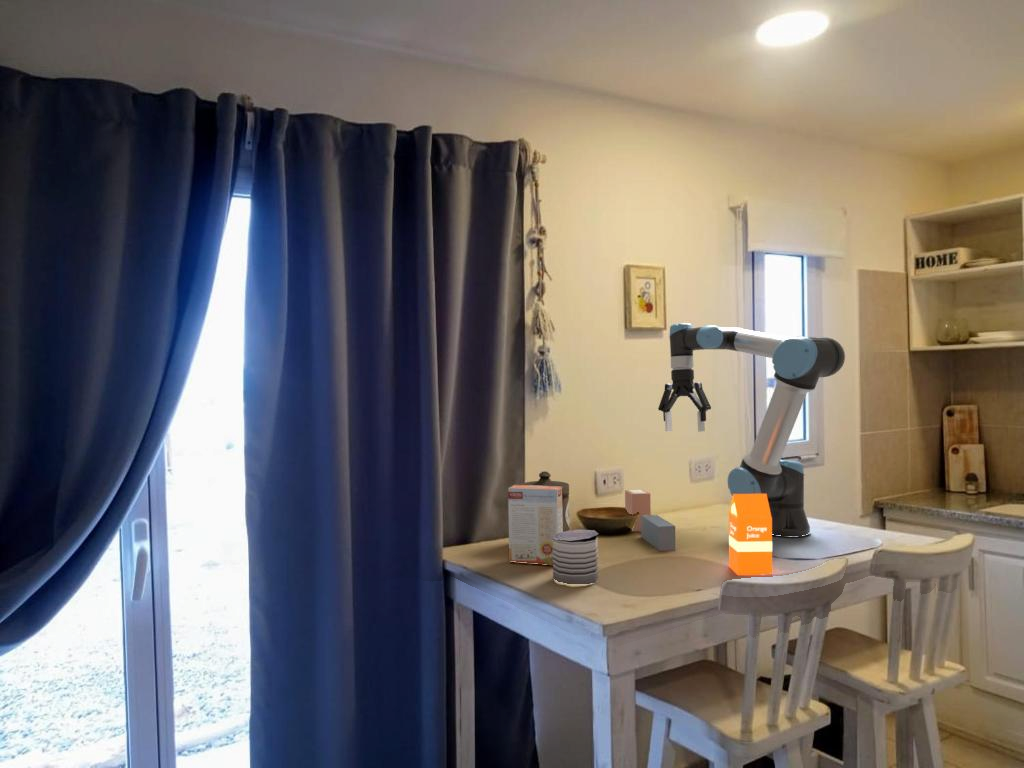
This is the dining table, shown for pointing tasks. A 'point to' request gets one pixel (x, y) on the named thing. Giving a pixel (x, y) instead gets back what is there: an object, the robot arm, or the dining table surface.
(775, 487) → the robot arm
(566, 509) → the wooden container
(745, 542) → the orange juice
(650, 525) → the pad
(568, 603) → the dining table surface
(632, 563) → the dining table surface
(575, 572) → the can
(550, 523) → the cracker box
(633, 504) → the stub tab
